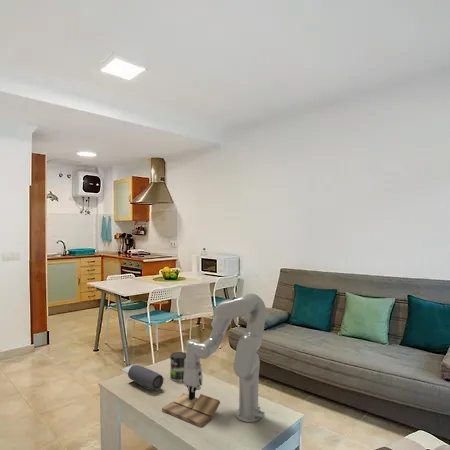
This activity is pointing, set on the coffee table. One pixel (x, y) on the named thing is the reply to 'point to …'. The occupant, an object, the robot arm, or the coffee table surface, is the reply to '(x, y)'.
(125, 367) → the baseboard molding
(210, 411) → the plank near
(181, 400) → the plank far
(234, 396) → the coffee table surface
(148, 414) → the coffee table surface
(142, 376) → the bluetooth speaker
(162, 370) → the coffee table surface
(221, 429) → the coffee table surface
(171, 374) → the coffee can
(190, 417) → the floor plank
